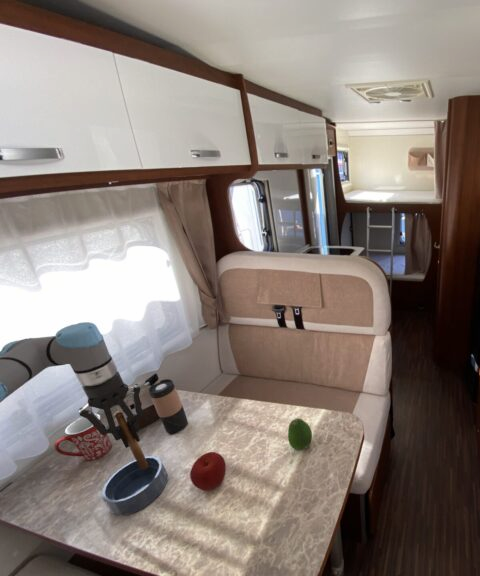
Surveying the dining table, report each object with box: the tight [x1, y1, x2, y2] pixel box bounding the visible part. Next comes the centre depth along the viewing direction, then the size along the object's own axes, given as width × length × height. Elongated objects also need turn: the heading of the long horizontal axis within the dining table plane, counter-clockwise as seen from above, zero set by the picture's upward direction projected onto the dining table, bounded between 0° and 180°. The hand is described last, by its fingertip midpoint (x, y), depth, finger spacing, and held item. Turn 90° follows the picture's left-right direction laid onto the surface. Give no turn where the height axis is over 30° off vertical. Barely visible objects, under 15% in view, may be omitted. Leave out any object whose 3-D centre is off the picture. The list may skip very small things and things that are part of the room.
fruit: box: [287, 418, 313, 451], centre depth 104 cm, size 8×8×12 cm
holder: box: [116, 391, 161, 433], centre depth 119 cm, size 10×10×8 cm
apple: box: [189, 451, 227, 491], centre depth 94 cm, size 10×10×10 cm
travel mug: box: [147, 378, 189, 435], centre depth 113 cm, size 8×8×20 cm
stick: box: [113, 410, 148, 470], centre depth 90 cm, size 2×2×22 cm
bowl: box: [101, 455, 169, 516], centre depth 93 cm, size 15×15×6 cm
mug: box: [54, 413, 112, 461], centre depth 104 cm, size 13×9×14 cm
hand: (132, 441), depth 89 cm, fingers closed on stick, 2 cm apart
